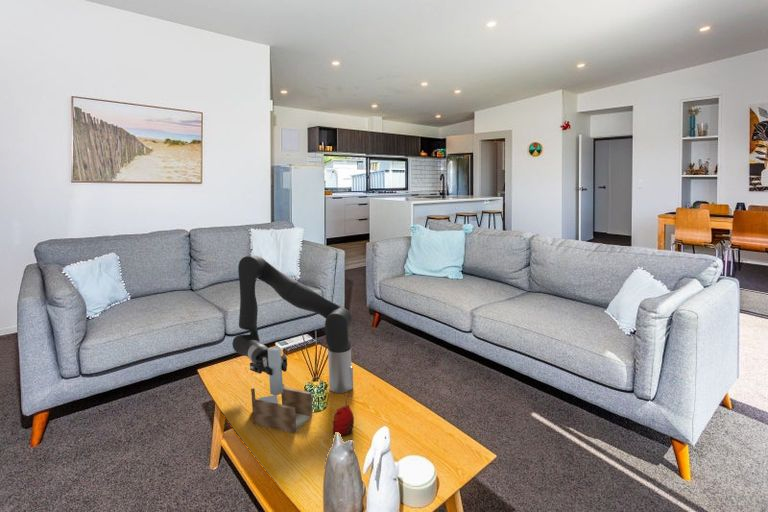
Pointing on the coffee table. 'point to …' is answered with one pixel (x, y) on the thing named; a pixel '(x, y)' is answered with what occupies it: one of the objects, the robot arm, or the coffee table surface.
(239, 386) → the coffee table surface
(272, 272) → the robot arm
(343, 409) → the red clay folk toy
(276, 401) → the pad
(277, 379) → the baton
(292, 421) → the channel
